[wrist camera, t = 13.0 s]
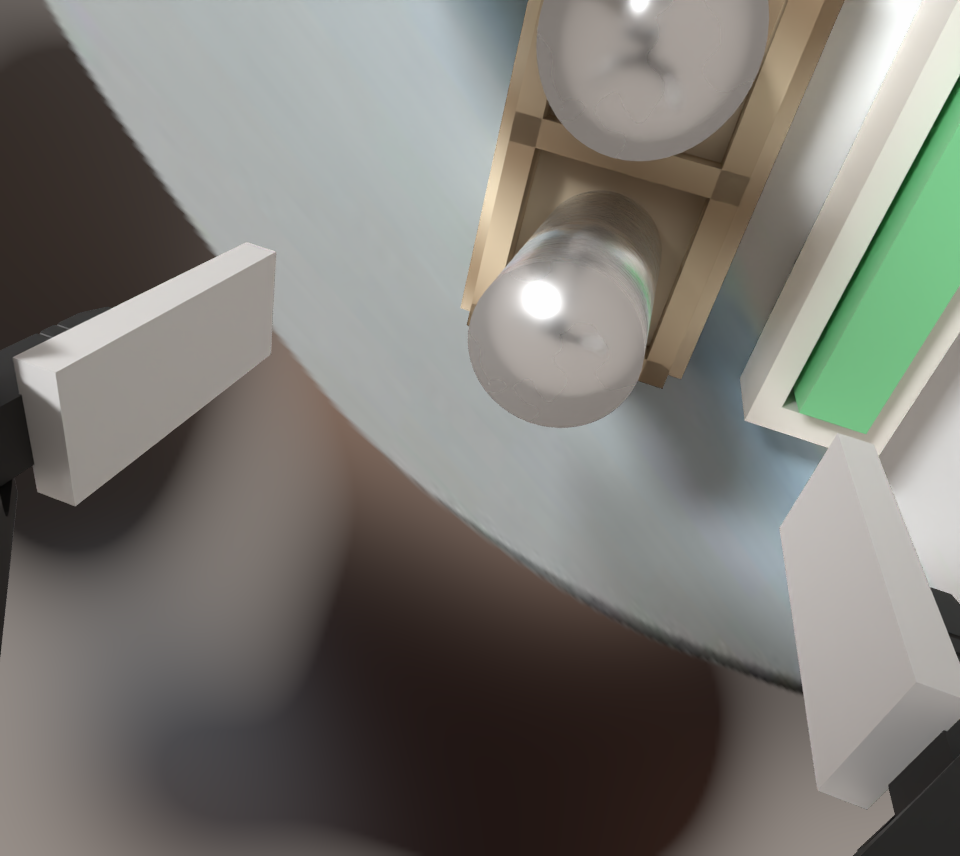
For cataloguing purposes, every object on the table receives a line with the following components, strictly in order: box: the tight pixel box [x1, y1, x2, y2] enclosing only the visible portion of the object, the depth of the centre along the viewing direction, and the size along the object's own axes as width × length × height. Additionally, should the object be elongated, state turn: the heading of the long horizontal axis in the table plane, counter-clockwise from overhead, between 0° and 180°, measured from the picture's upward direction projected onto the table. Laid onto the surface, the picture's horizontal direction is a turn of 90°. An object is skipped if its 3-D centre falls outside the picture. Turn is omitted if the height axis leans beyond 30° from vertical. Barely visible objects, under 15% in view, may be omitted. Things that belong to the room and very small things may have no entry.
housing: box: [740, 0, 960, 456], centre depth 23 cm, size 19×5×4 cm, turn 167°
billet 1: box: [536, 0, 769, 161], centre depth 20 cm, size 5×5×10 cm
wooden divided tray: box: [461, 0, 844, 388], centre depth 26 cm, size 16×10×3 cm, turn 167°
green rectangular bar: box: [793, 75, 960, 434], centre depth 22 cm, size 16×2×4 cm, turn 167°
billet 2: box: [468, 190, 662, 428], centre depth 24 cm, size 5×5×10 cm
